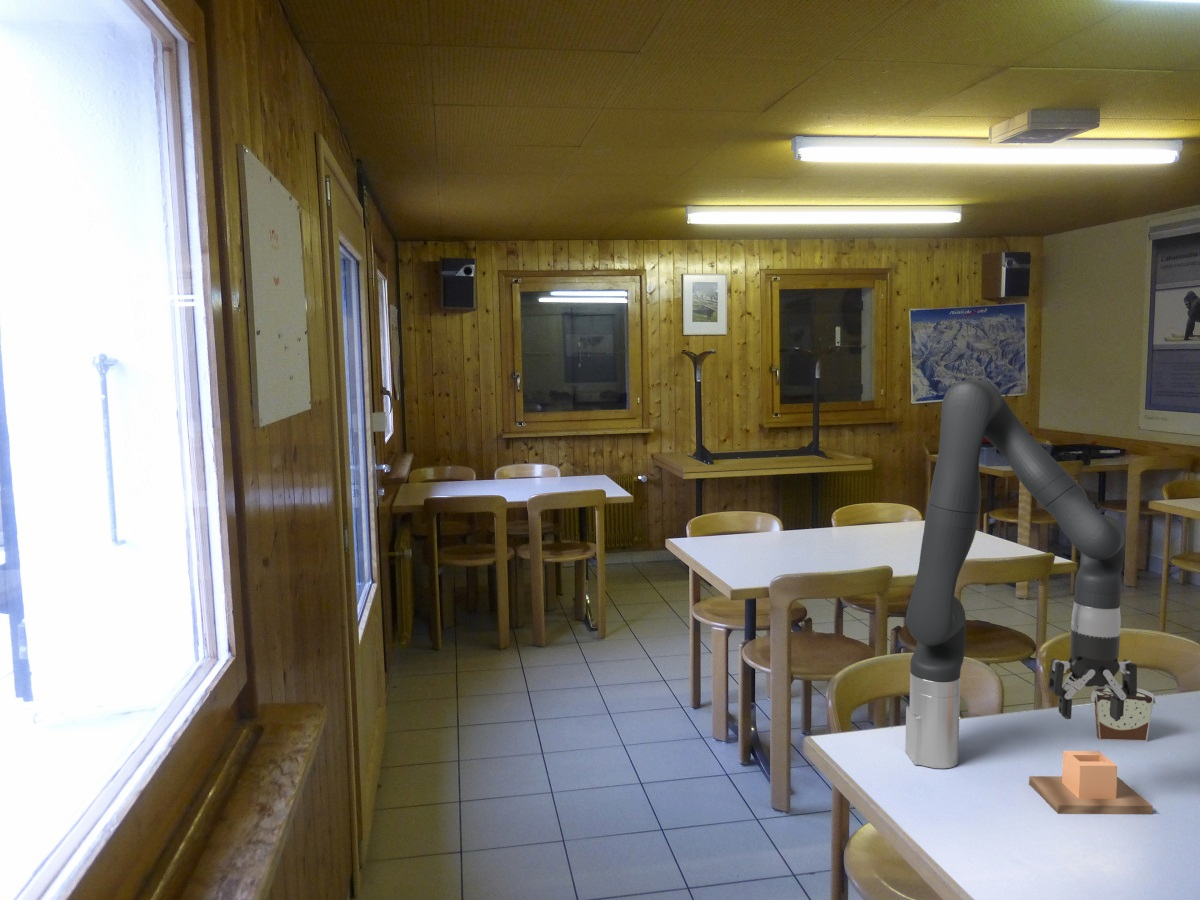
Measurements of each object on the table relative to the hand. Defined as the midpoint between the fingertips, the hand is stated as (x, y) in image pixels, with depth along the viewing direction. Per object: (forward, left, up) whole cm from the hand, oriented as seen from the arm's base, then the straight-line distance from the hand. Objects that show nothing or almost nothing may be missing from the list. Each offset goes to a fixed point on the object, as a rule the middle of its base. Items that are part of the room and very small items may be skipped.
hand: (1090, 717), depth 155 cm
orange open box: (0, 0, -13) cm, 13 cm away
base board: (0, 0, -15) cm, 15 cm away
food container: (+20, +28, -15) cm, 38 cm away
